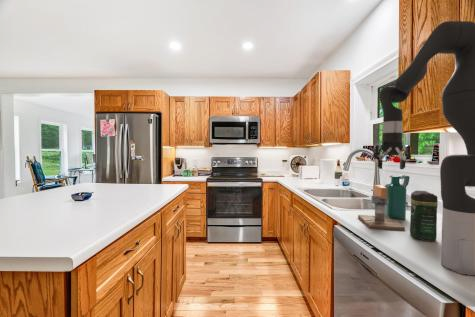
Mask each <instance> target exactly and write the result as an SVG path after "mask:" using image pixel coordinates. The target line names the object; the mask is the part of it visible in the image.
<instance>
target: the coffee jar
mask: <svg viewBox="0 0 475 317" xmlns="http://www.w3.org/2000/svg"><path fill="white" fill-rule="evenodd" d="M438 204H439V200H438V196H437V195H436V194H434V193H431V192H428V191H426V190H415V191H412V192H411V193H410V218H409V219H410V223H409V234H410V235H411V236H412V237H413V238H415V239H418V240H421V241H424V242H432V241H434V242H435V241H437V231H438V230H437V226H438V225H437V224H438V223H437V222H438V221H437V220H438V217H437V216H438Z"/></svg>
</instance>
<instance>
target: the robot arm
mask: <svg viewBox="0 0 475 317" xmlns="http://www.w3.org/2000/svg"><path fill="white" fill-rule="evenodd" d="M438 54H443V55H445V54H452V55H453V56H454V61H455V64H454V72H453V73H452V75H451V76H450V78H449V80H448V81H447V83H446V84H445V86H444V88H443V90H442V91H441V92H442V93H441V105H442V114H443V117H444V118H445V120H446V121H447V123H448V124H449V125H450V126H451V127H452V128H453V129H454V130H455V131H456V133H458V135H459V136H460V137H461V139H462V141H463V142H464V144H465V145H464V146H465V148H466V154H449V155H447V156H445V157H444V158H443V160H442V161H441V164H440V170H439V172H440V174H439V175H440V177H439V178H440V179H439V180H440V197H441V201H442V215H441V216H442V218H441V219H442V220H441V246H440V247H441V250H440V252H441V254H440V256H441V257H440V258H441V259H440V261H441V262H440V265H442V266H443V267H444V266H445V267H444V268H446V267H447V268H446V269H448V268H449V269H448V270H450V269H451V270H450V271H453V272H456V273H458V274H459V273H460V274H459V275H465V274H467V275H470V276H475V198H474V197H472V196H470V195H469V194H467V190H466V187H467V188H468V187H470V188H471V187H472V188H475V22H474V21H469V20H448V21H443V22H441V23H439V24H438V25H437V26H436V27H435V28H434V29H433V30H432V32H431V33H430V35H429V36H428V37H427V39H426V40H425V41H424V42H423V45H422V46H421V47H420V48H419V50H418V52H417V53H416V55H415V57H414V58H413V60H412V61H411V63H410V64H409V65H408V66H407V67H406V69H405V70H404V71H403V72H402V73H401V74H400V75H399V76H398V77H397V78H396V79H395V82H394V85H393V86H391V85H389V86H386V85H385V86H384V87H382V88H381V90H380V92H379V94H378V95H379V96H378V97H379V101H380V102H379V103H380V106H381V109H382V113H383V119H382V128H381V132H382V133H381V134H382V136H381V145H379V144H378V145H377V144H376V145H373V152H372V158H373V159H374V160H377V162H376V163H377V165H376V166H377V168H378V169H380V170H383V159H384V158H386V156H396V157H398V159H400V160H399V169H400V170H404V169H406V161H408V160H411V158H412V155H411V154H412V153H411V150H412V149H411V145H407V144H406V145H403V131H404V130H403V129H404V128H403V110H402V108H400V107H397V106H395V105H394V104H399V103H402V102H405V101H406V100H407V99H408V97H409V95H410V93H411V92H412V90H413V89H414V88H415V87H416V86H417V85H418V84H419V83H421V81H422V80H423V79H424V78H425V76H426V75H427V72H428V64H429V61H430V60H431V59H433V58H434V57H435V56H436V55H438ZM380 150H382V152H381V153H380V154H379V151H380ZM402 150H403V151H404V153H403V152H402ZM467 275H466V276H467Z"/></svg>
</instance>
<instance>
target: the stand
mask: <svg viewBox="0 0 475 317" xmlns="http://www.w3.org/2000/svg"><path fill="white" fill-rule="evenodd" d="M357 218H358V220H360V221H361V222H362V223H363V224H364V225H365V226H366V227H367V228H368V229H374V230H385V231H386V230H390V231H406V230H405V229H406V227H405V226H404V225H402V224H401V223H399V222H397V221H396V220H395V219H391V218H390V217H387V216H385V205H380V204H374V215H365V214H358V215H357Z"/></svg>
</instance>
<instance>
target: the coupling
mask: <svg viewBox="0 0 475 317" xmlns="http://www.w3.org/2000/svg"><path fill="white" fill-rule="evenodd" d="M371 203H372V204H374V205H375V204H380V205H388V204H389V197H387V188H386V187H385V186H382V185H380V184H378V185H377V184H374V186H373V195H371Z"/></svg>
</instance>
